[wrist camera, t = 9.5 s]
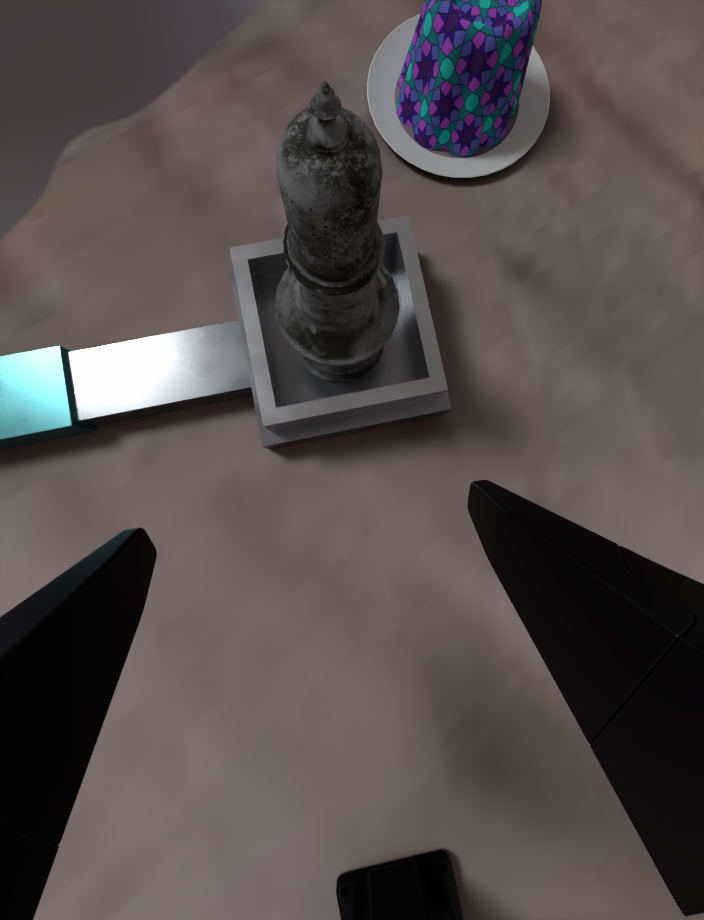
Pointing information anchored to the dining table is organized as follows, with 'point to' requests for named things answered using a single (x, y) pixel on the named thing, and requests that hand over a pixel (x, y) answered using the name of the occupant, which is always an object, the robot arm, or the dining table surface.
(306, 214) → the chess piece
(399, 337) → the square frying pan
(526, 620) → the robot arm
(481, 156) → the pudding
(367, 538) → the dining table surface
